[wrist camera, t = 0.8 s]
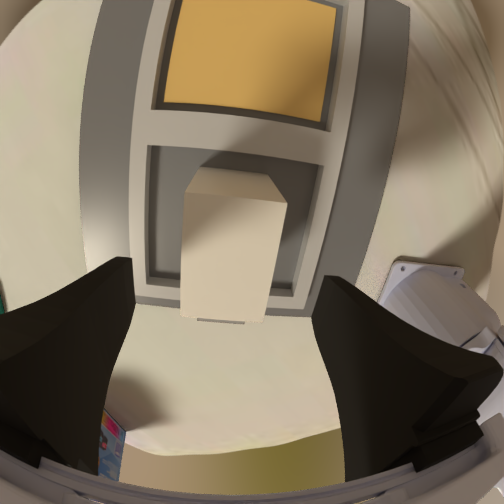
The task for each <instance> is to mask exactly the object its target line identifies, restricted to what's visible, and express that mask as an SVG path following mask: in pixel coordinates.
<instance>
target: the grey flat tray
mask: <svg viewBox="0 0 504 504" xmlns="http://www.w3.org/2000/svg"><path fill="white" fill-rule="evenodd" d="M409 22H410V8H409V7H408V6H406V5H404V4H402V3H400V2H398V1H396V0H103V2H102V5H101V9H100V12H99V16H98V19H97V23H96V27H95V31H94V36H93V40H92V45H91V50H90V55H89V60H88V66H87V72H86V78H85V85H84V93H83V102H82V113H81V126H80V147H79V188H80V209H81V222H82V233H83V243H84V251H85V259H86V266H87V272H88V273H89V272H91V271H92V270H94V269H96V268H97V267H99V266H100V265H102V264H104V263H105V262H107V261H109V260H110V259H112V258H114V257H116V256H121V257H130V258H132V263H133V277H134V289H135V299H136V303H138V304H146V305H154V306H162V307H171V308H180V282H181V247H182V226H183V209H184V194H185V191H186V189H187V187H188V185H189V184H190V182H191V180H192V179H193V177H194V175H195V174H196V172H197V170H198V169H199V167H210V168H220V169H229V170H238V171H246V172H254V173H262V174H268V176H269V177H270V178H271V180H272V181H273V183H274V184H275V186H276V187H277V189H278V190H279V191H280V193H281V194H282V196H283V197H284V199H285V200H286V202H287V203H288V204H287V209H286V214H285V219H284V224H283V229H282V234H281V239H280V244H279V249H278V254H277V259H276V264H275V268H274V273H273V278H272V283H271V287H270V292H269V297H268V301H267V306H266V311H265V315H270V316H292V317H311V316H312V313H313V310H314V306H315V303H316V300H317V297H318V294H319V291H320V288H321V284H322V281H323V278H324V275H332V276H340V277H341V278H343V279H345V280H346V281H348V282H349V283H351V284H352V285H354V286H355V283H356V280H357V277H358V274H359V272H360V269H361V266H362V263H363V260H364V257H365V254H366V251H367V248H368V244H369V241H370V238H371V235H372V232H373V228H374V225H375V221H376V218H377V214H378V211H379V207H380V204H381V200H382V196H383V192H384V188H385V184H386V180H387V176H388V172H389V168H390V163H391V159H392V154H393V149H394V144H395V139H396V134H397V129H398V123H399V117H400V111H401V105H402V98H403V91H404V83H405V75H406V66H407V55H408V42H409Z"/></svg>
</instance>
